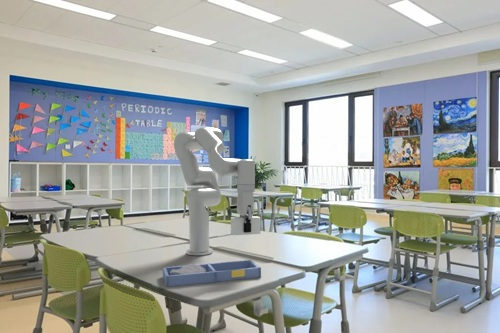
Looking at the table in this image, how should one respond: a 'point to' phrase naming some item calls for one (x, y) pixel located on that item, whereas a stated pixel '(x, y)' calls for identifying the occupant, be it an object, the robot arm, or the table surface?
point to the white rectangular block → (238, 225)
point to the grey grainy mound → (188, 270)
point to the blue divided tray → (214, 273)
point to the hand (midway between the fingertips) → (245, 230)
